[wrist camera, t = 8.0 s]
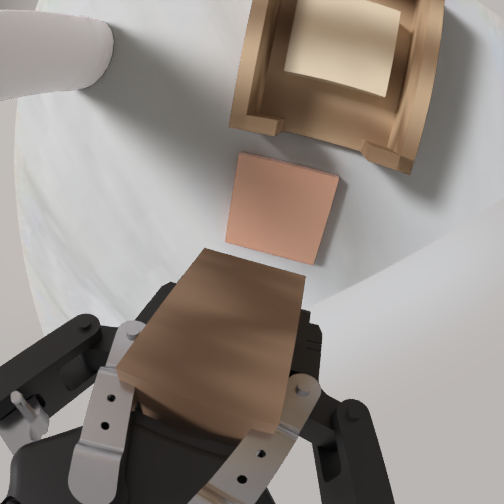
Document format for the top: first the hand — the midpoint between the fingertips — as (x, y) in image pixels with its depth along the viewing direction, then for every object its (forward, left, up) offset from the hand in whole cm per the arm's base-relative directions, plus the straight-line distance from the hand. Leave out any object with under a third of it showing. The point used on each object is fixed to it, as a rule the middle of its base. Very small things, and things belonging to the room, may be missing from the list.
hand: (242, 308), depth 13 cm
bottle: (+12, +22, -14) cm, 29 cm away
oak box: (+14, -2, -13) cm, 20 cm away
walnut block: (0, 0, -1) cm, 1 cm away
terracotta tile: (0, 0, -14) cm, 13 cm away
